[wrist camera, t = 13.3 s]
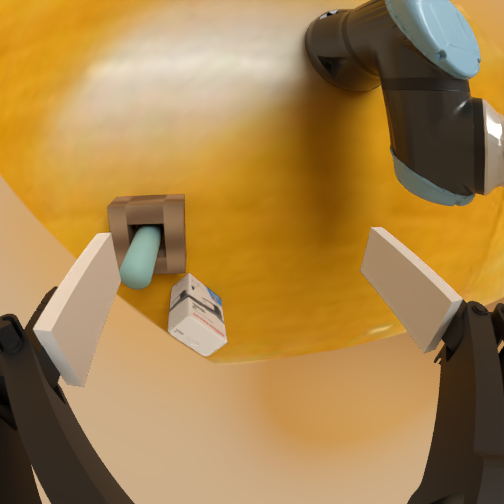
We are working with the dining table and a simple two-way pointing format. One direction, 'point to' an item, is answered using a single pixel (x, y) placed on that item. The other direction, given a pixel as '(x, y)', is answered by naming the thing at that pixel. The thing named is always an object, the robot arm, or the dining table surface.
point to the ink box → (196, 316)
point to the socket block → (151, 212)
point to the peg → (141, 256)
